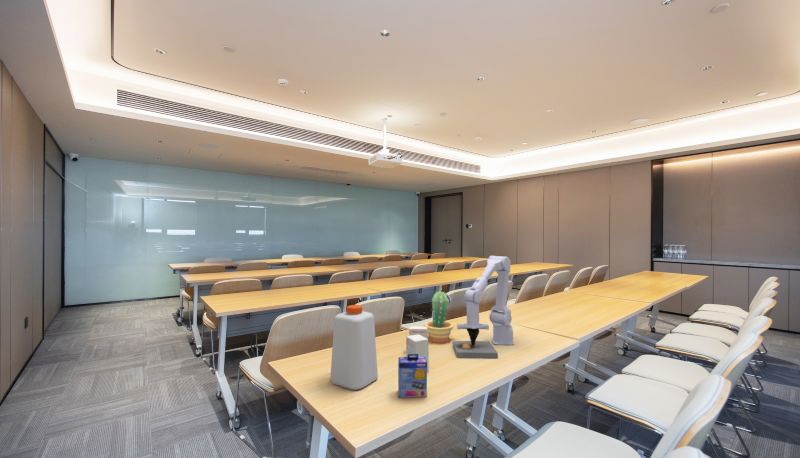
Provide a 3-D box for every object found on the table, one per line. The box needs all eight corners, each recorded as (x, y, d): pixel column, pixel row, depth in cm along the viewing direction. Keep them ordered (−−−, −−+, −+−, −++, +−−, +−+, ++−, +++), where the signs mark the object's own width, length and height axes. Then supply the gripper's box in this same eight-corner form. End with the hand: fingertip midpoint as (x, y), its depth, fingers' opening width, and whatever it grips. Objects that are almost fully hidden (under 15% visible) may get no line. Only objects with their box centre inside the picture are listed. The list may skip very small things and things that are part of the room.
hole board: (489, 346, 165) (489, 341, 165) (497, 358, 149) (497, 352, 149) (452, 345, 165) (452, 340, 166) (457, 357, 150) (457, 352, 150)
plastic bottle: (357, 393, 117) (357, 313, 117) (325, 383, 125) (325, 307, 125) (382, 377, 129) (382, 305, 130) (351, 369, 137) (352, 300, 138)
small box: (428, 371, 135) (428, 339, 135) (415, 374, 132) (415, 341, 132) (419, 364, 142) (419, 333, 142) (405, 367, 139) (405, 335, 140)
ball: (460, 349, 159) (467, 348, 160) (464, 354, 155) (471, 352, 157) (460, 342, 158) (467, 340, 159) (465, 346, 154) (472, 345, 156)
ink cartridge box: (398, 398, 113) (398, 355, 113) (397, 390, 119) (397, 349, 119) (427, 397, 114) (427, 354, 114) (425, 389, 119) (425, 349, 120)
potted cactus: (456, 344, 167) (456, 294, 167) (425, 344, 167) (425, 294, 167) (451, 335, 182) (451, 289, 183) (423, 335, 183) (423, 289, 183)
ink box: (427, 351, 158) (427, 326, 158) (427, 355, 153) (427, 329, 153) (409, 350, 159) (409, 325, 159) (409, 354, 154) (409, 328, 154)
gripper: (458, 317, 154) (458, 347, 153) (490, 317, 153) (490, 347, 153) (456, 313, 161) (456, 342, 161) (486, 314, 160) (487, 342, 160)
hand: (472, 344), depth 157 cm, fingers closed
